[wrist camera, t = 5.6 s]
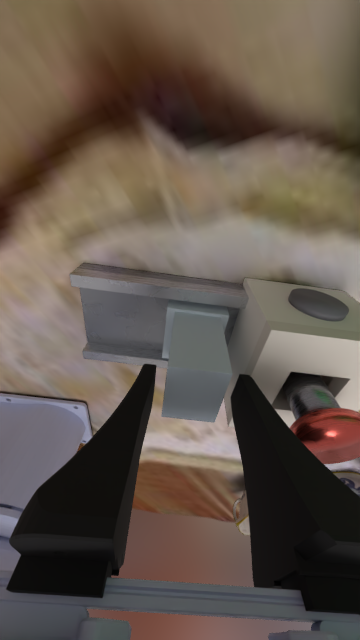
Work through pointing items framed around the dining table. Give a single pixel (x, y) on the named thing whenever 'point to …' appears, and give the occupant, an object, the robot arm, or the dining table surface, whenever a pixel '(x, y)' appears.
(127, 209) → the dining table surface
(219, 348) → the carriage
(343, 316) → the end cabinet
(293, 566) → the robot arm
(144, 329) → the rail
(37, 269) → the dining table surface
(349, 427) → the red push button
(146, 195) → the dining table surface
